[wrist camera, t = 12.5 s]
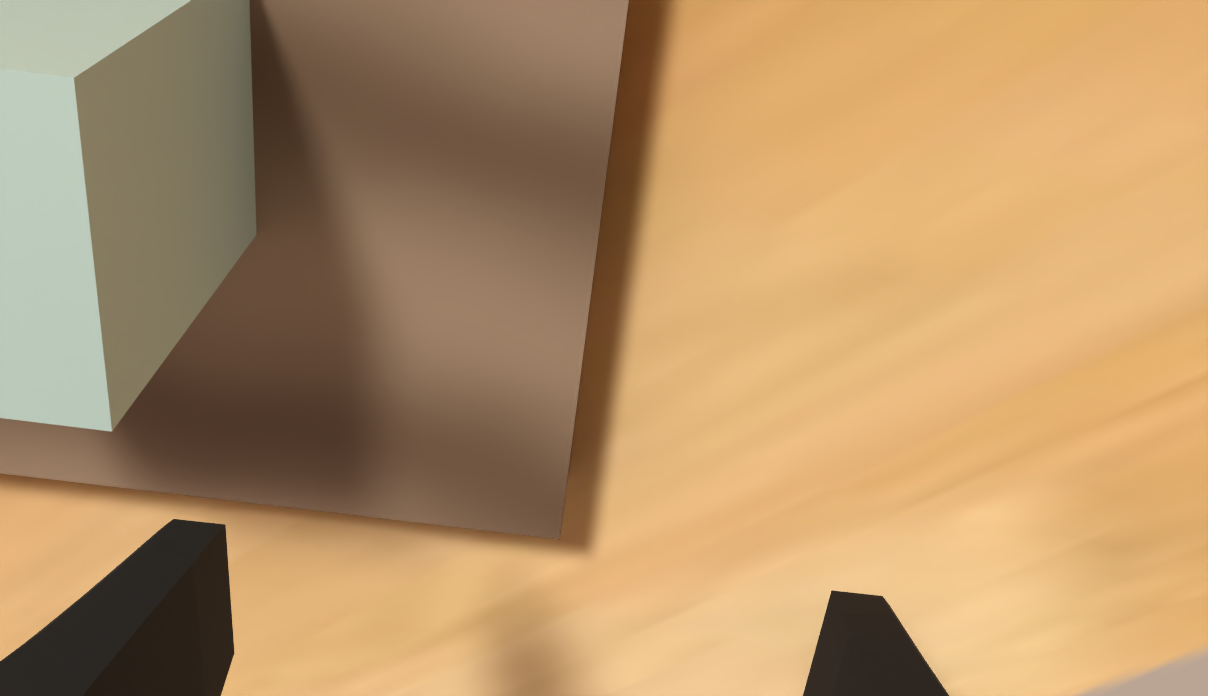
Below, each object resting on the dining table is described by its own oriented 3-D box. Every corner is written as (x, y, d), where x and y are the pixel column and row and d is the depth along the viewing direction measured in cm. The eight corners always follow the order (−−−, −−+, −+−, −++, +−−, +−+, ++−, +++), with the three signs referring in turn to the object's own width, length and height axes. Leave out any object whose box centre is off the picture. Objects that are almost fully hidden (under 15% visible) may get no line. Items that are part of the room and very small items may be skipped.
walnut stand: (566, 478, 24) (559, 539, 23) (-201, 387, 24) (-269, 441, 22) (682, -427, 16) (685, -442, 15) (-464, -590, 16) (-600, -624, 14)
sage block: (256, 234, 20) (111, 431, 14) (-11, 200, 19) (-256, 386, 14) (248, -38, 17) (73, 78, 12) (-54, -78, 17) (-362, 21, 12)
